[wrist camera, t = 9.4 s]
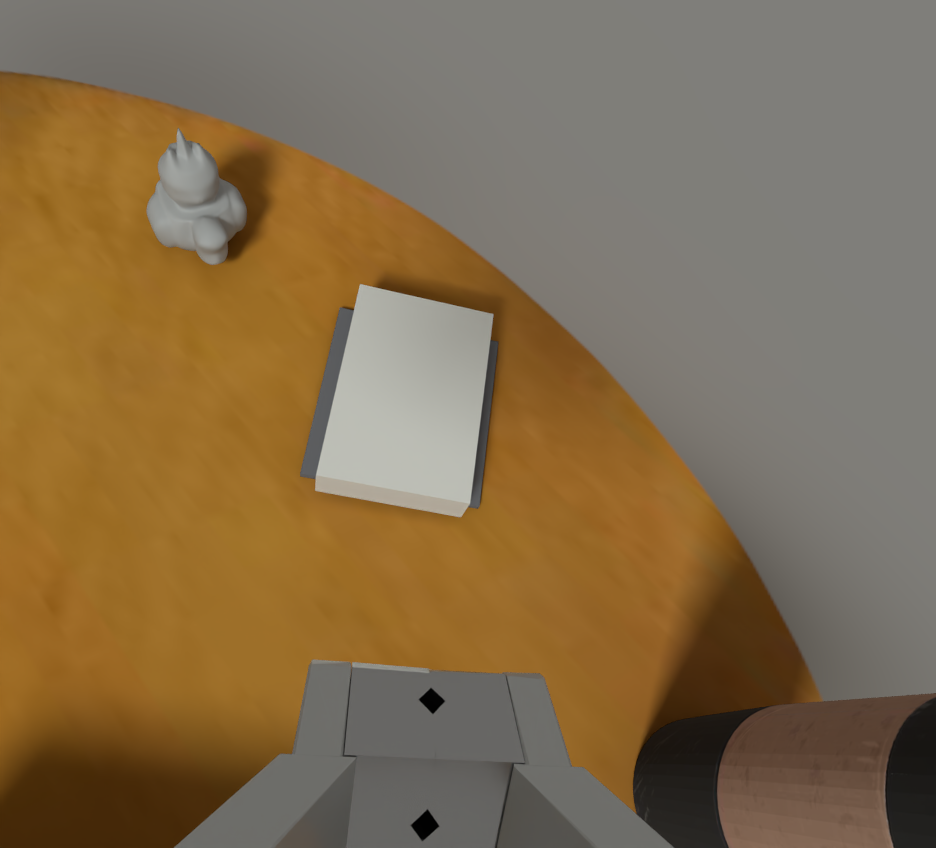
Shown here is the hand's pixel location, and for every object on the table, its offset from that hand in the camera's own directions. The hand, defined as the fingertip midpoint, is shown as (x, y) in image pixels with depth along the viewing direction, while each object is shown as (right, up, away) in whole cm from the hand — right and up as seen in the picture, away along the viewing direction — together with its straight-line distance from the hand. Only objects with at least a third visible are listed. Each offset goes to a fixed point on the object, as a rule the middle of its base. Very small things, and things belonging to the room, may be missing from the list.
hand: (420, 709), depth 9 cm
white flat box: (-3, 0, +28) cm, 28 cm away
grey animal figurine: (-16, +15, +34) cm, 41 cm away
